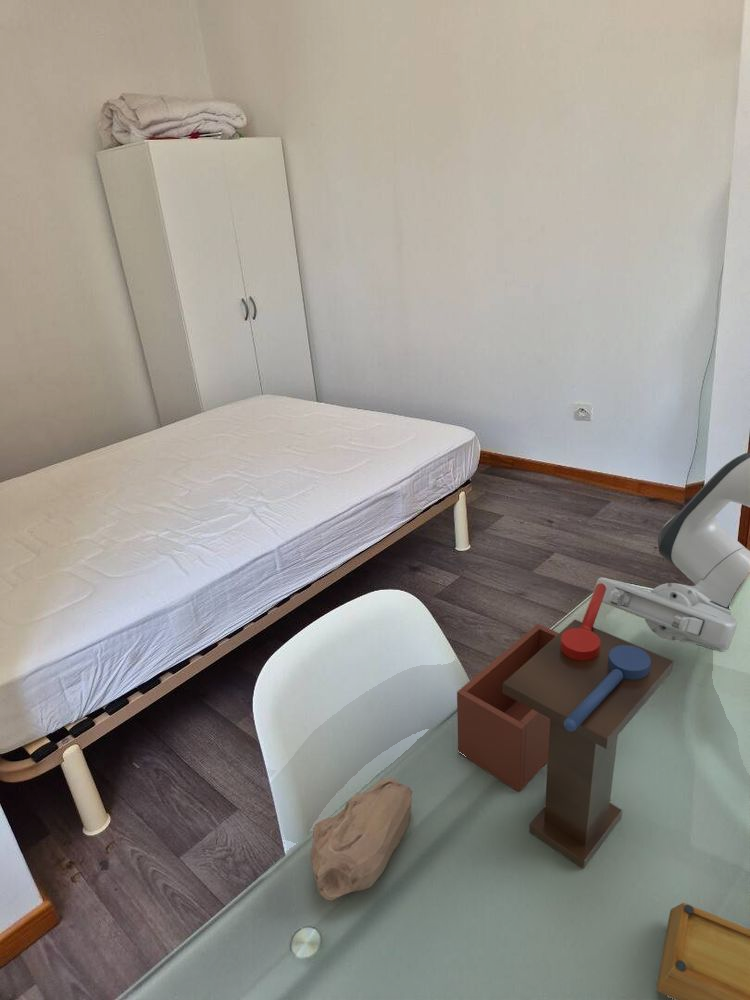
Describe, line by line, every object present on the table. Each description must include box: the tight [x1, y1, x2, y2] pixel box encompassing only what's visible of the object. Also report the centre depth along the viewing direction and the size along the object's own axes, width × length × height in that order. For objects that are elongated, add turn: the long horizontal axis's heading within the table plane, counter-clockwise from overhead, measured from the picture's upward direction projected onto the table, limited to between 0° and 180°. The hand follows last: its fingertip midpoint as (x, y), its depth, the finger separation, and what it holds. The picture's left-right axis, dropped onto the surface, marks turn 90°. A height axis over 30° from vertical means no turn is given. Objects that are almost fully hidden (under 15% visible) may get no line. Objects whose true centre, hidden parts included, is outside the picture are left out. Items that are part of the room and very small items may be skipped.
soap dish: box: [656, 902, 750, 1000], centre depth 72 cm, size 12×10×5 cm
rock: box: [309, 777, 413, 901], centre depth 88 cm, size 18×10×10 cm
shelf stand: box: [503, 619, 675, 870], centre depth 86 cm, size 16×13×26 cm
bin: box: [456, 623, 560, 793], centre depth 104 cm, size 21×11×12 cm, turn 135°
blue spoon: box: [564, 645, 651, 731], centre depth 77 cm, size 16×5×1 cm, turn 135°
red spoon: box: [560, 583, 606, 661], centre depth 88 cm, size 16×5×1 cm, turn 153°
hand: (644, 609), depth 97 cm, fingers open, 8 cm apart
